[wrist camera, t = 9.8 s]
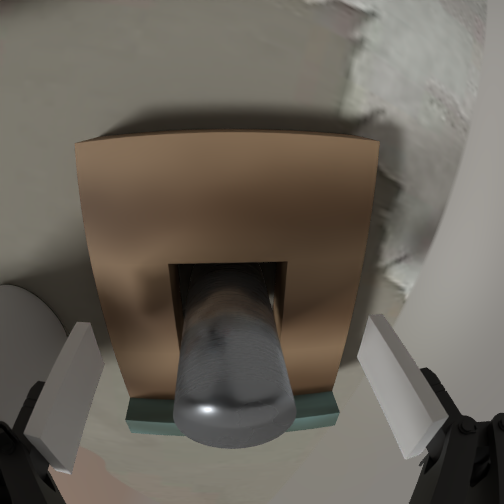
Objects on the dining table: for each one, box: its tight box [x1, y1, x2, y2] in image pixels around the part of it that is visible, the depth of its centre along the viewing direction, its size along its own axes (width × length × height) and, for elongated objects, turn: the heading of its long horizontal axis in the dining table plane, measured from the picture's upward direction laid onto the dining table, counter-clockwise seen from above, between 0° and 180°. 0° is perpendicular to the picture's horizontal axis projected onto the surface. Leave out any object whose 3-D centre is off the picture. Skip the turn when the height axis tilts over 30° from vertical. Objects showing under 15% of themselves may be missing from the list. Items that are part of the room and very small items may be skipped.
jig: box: [75, 129, 380, 436], centre depth 17 cm, size 18×14×5 cm
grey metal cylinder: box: [173, 262, 297, 449], centre depth 15 cm, size 4×4×10 cm
